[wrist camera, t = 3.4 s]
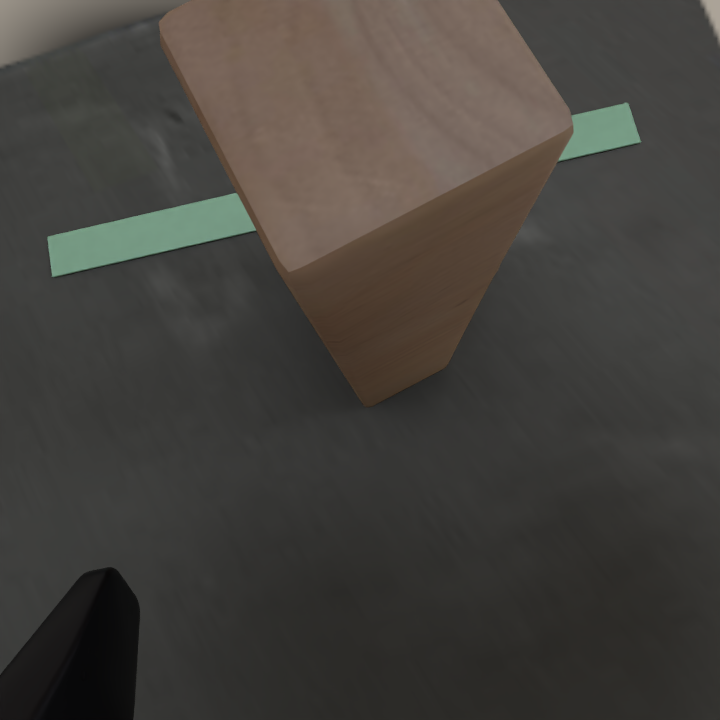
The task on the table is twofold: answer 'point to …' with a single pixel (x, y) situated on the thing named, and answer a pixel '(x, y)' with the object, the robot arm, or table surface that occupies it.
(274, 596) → the table surface
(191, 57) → the wooden block
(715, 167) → the table surface
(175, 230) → the tape strip
